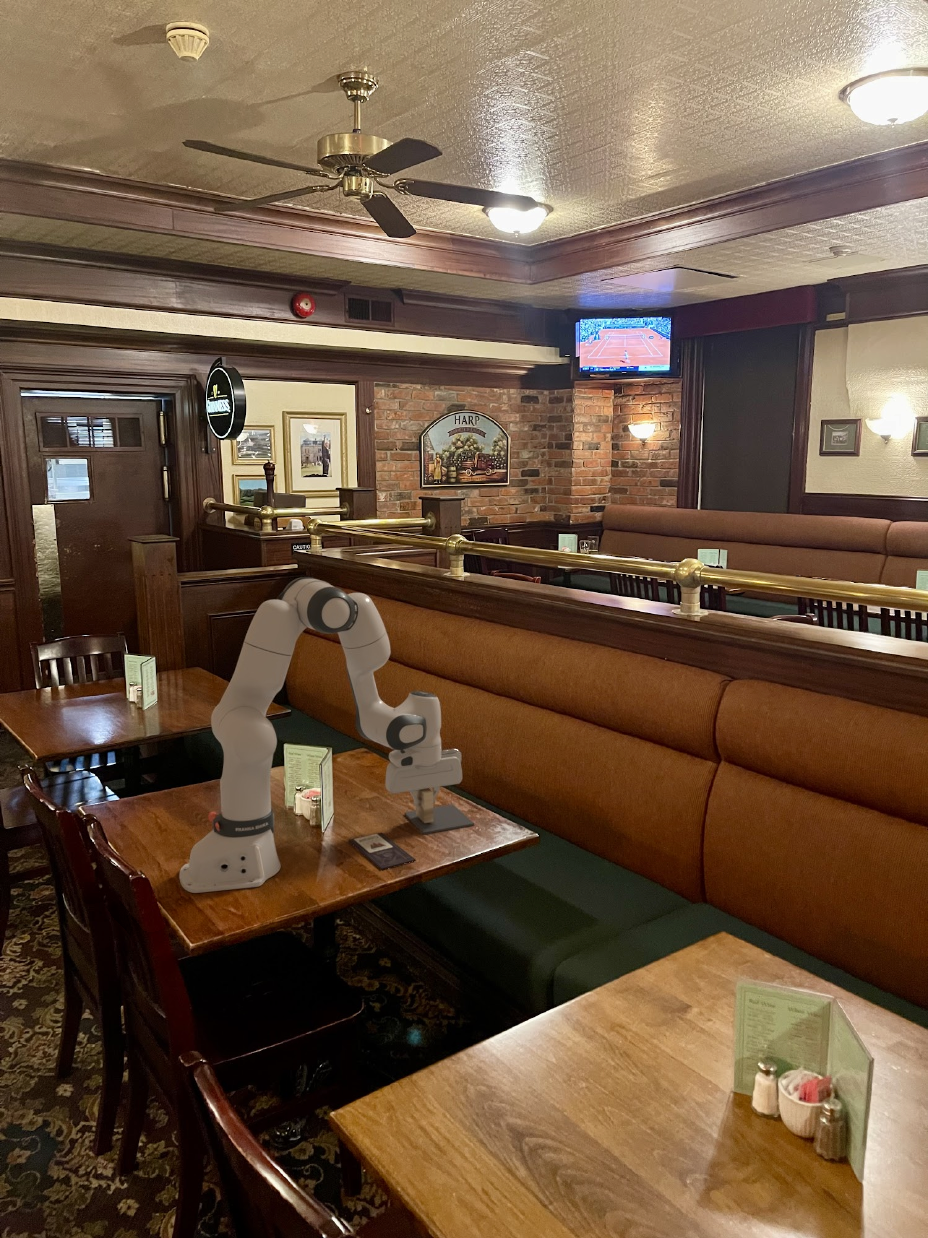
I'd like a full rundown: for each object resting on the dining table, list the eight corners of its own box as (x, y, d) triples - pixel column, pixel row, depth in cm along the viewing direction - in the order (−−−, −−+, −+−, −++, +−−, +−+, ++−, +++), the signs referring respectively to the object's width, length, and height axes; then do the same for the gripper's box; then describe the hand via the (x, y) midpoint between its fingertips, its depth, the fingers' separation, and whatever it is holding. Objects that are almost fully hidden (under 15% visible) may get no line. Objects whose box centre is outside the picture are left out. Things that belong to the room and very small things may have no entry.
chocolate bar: (381, 868, 211) (348, 840, 226) (381, 872, 211) (348, 844, 226) (415, 859, 215) (381, 832, 231) (415, 863, 216) (381, 836, 231)
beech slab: (433, 821, 236) (433, 792, 234) (424, 823, 235) (424, 793, 233) (425, 813, 241) (424, 784, 239) (416, 814, 240) (415, 785, 238)
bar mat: (423, 834, 231) (423, 832, 230) (404, 814, 243) (404, 812, 243) (474, 825, 236) (474, 823, 236) (453, 806, 249) (453, 804, 249)
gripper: (456, 744, 241) (456, 793, 244) (382, 754, 233) (383, 805, 236) (466, 751, 236) (466, 802, 238) (391, 762, 228) (391, 814, 230)
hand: (424, 804), depth 237 cm, fingers closed on beech slab, 2 cm apart
